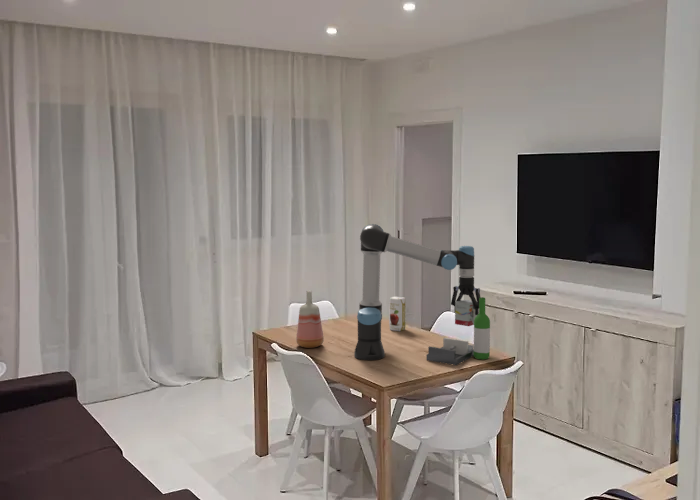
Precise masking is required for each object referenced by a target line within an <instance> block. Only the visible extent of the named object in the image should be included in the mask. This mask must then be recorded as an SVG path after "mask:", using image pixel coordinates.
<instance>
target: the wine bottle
mask: <svg viewBox="0 0 700 500" xmlns="http://www.w3.org/2000/svg"><path fill="white" fill-rule="evenodd" d="M490 338H491V321H490V318H489V316H488V315H487V314H486V297H484V296H483V297H481V296H480V298H479V314H478V315H477V316H476V317H475V319H474V325H473V349H474V356H473V358H474V359H475V360H476V359H477V360H480V359H481V360H483V361H484V359H485V360H488V359H489V358H490V353H491V352H490V350H491V349H490V348H491V345H490V344H491V342H490V341H491V339H490Z"/></svg>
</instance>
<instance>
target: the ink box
mask: <svg viewBox="0 0 700 500" xmlns="http://www.w3.org/2000/svg"><path fill="white" fill-rule="evenodd" d="M473 309H475V307H474V305H473V303H472V301H471V299H461V301H456V302H455V312H454V325H457V326H458V325H459V326H464V327H471V326H474V322H473Z"/></svg>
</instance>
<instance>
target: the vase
mask: <svg viewBox="0 0 700 500" xmlns="http://www.w3.org/2000/svg"><path fill="white" fill-rule="evenodd" d="M312 293H313V291H312V290H306V303H305V304H303V305H301V306H300V307H299V311H298V321H297V328H296V338H295V339H296V344H297V345H298V346H299V347H302V348H305V349H313V348H317V347H320V346H322V345H323V344H324V341H325V338H324V337H325V335H324V330H323V325H322V318H321V313H320V307H319V306H318V305H316V304H314V303H313V296H312V295H313V294H312Z"/></svg>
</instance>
